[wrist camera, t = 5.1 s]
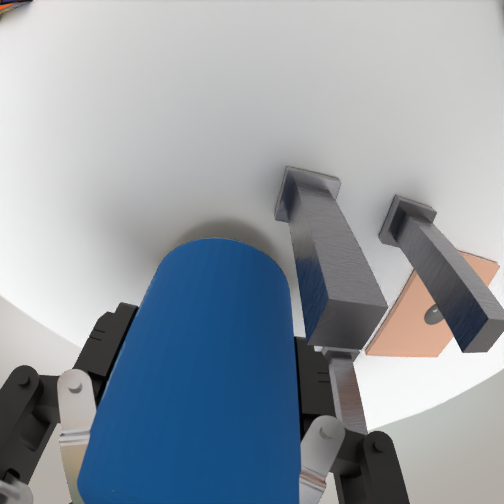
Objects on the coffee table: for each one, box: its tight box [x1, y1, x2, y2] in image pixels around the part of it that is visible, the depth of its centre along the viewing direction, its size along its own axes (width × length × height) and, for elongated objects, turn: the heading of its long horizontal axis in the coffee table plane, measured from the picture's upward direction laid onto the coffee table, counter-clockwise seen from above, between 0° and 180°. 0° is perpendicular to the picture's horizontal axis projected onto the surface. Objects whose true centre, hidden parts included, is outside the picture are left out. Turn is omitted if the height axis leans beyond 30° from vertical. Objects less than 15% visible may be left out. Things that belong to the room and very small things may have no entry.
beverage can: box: [77, 238, 301, 504], centre depth 9 cm, size 6×6×12 cm
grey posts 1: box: [274, 166, 388, 350], centre depth 13 cm, size 2×13×8 cm, turn 169°
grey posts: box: [322, 195, 504, 435], centre depth 13 cm, size 2×13×8 cm, turn 169°
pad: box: [365, 251, 500, 357], centre depth 17 cm, size 7×9×1 cm
